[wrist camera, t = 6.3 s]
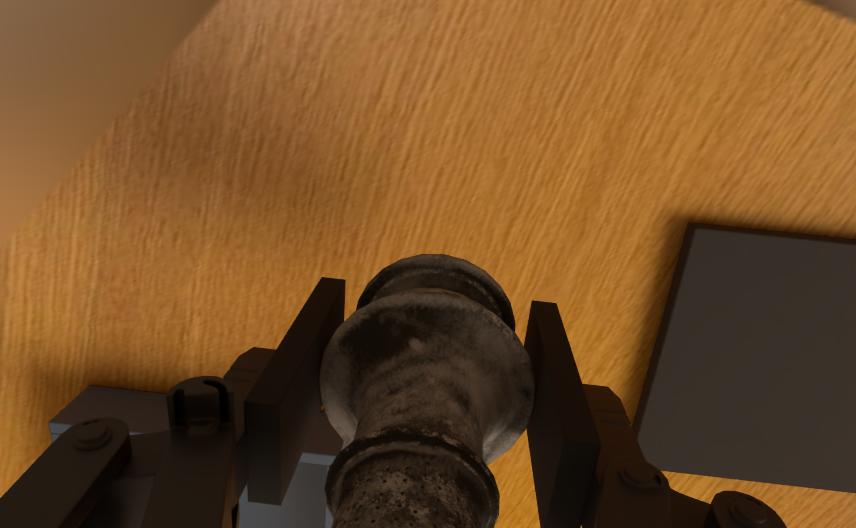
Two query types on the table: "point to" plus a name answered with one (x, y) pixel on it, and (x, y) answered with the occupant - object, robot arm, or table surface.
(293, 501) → the tray
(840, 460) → the mat
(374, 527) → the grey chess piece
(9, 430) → the table surface
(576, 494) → the robot arm
